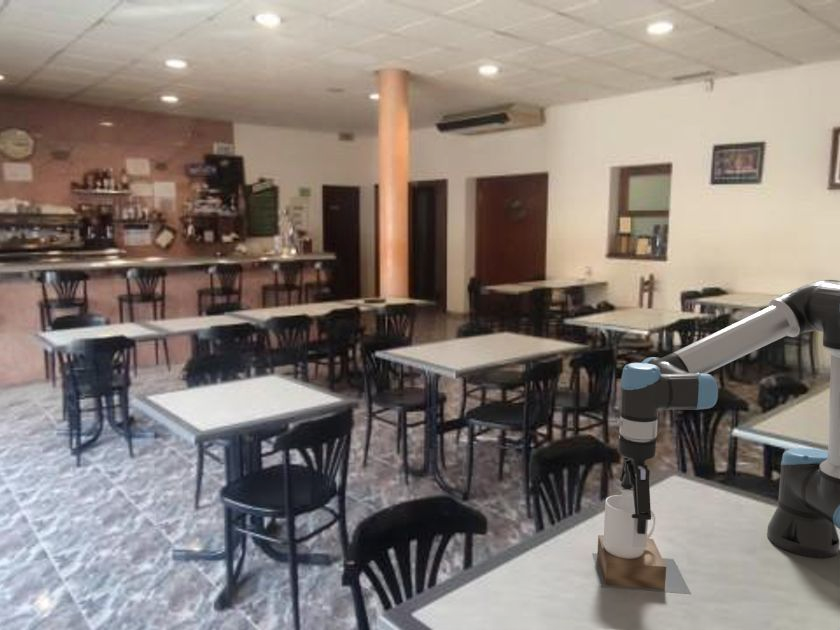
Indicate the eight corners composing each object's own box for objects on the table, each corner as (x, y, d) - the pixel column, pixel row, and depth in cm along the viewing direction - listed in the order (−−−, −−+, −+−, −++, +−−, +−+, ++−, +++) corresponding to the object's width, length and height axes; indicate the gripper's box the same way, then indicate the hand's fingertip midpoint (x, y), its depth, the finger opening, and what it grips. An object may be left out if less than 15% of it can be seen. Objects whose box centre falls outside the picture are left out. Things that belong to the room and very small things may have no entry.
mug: (666, 554, 137) (669, 507, 136) (617, 562, 134) (620, 514, 133) (641, 536, 146) (644, 491, 144) (595, 542, 142) (597, 497, 141)
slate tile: (673, 563, 146) (673, 558, 145) (690, 599, 132) (691, 593, 132) (591, 558, 148) (592, 553, 148) (601, 592, 134) (601, 586, 134)
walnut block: (651, 559, 145) (652, 538, 144) (664, 589, 133) (666, 566, 133) (597, 555, 147) (598, 535, 146) (605, 584, 135) (606, 562, 134)
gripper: (609, 418, 148) (605, 505, 151) (630, 456, 124) (625, 559, 127) (643, 419, 147) (638, 506, 150) (671, 458, 123) (664, 561, 126)
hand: (632, 531), depth 139 cm, fingers open, 13 cm apart
